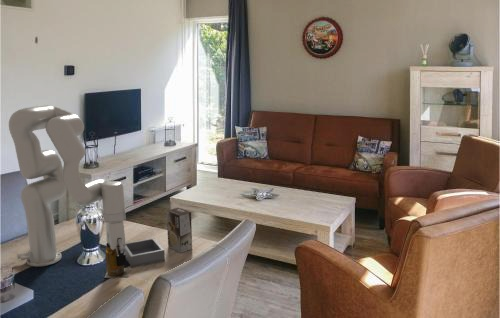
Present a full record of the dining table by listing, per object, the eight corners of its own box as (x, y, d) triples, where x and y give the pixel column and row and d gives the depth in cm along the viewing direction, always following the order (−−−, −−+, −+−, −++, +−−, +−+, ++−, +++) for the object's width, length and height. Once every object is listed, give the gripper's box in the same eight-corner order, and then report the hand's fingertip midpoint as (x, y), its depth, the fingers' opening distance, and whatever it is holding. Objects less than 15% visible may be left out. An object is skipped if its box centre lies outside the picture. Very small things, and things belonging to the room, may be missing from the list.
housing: (131, 267, 174) (131, 256, 174) (123, 254, 187) (122, 243, 186) (164, 260, 180) (164, 249, 179) (154, 247, 193) (153, 237, 192)
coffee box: (193, 248, 192) (192, 212, 188) (181, 253, 187) (179, 215, 184) (179, 242, 198) (178, 207, 194) (167, 247, 193) (165, 210, 190)
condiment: (108, 269, 173) (106, 239, 171) (131, 268, 174) (129, 238, 172) (104, 278, 166) (102, 247, 164) (128, 277, 167) (126, 246, 165)
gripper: (99, 211, 171) (103, 254, 175) (108, 225, 156) (113, 271, 160) (119, 207, 175) (123, 250, 178) (131, 221, 160) (134, 267, 163)
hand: (118, 260), depth 169 cm, fingers open, 9 cm apart
